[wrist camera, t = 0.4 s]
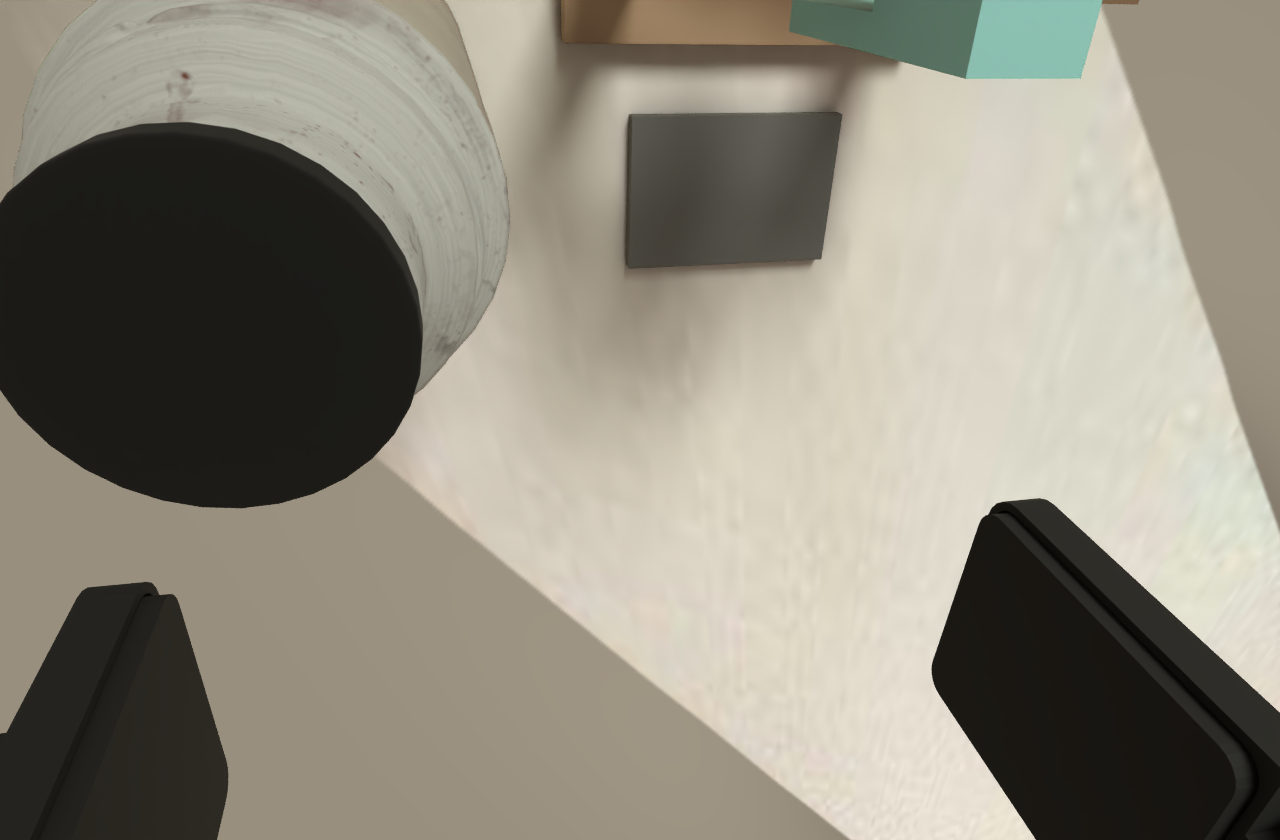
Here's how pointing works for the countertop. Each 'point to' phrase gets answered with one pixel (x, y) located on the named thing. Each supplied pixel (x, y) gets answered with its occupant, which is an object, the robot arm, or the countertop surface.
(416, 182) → the thermos bottle
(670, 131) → the mat
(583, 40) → the stand
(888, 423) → the countertop surface
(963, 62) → the tall mint green block
